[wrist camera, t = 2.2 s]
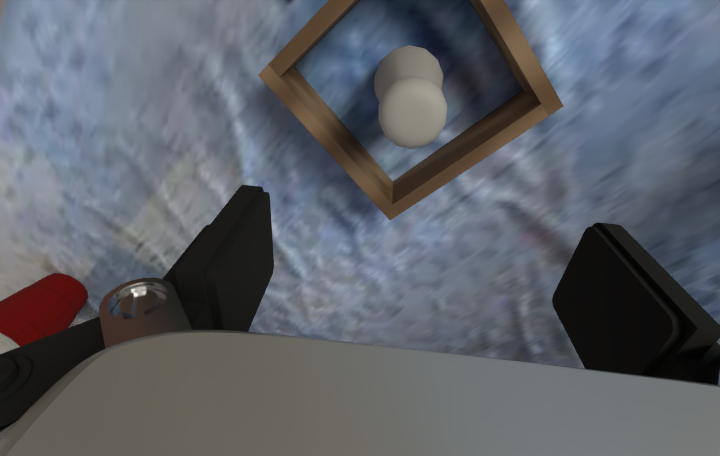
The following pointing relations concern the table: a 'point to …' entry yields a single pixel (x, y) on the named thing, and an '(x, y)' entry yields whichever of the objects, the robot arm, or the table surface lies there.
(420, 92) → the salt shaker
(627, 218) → the table surface
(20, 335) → the plastic cup
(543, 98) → the frame
